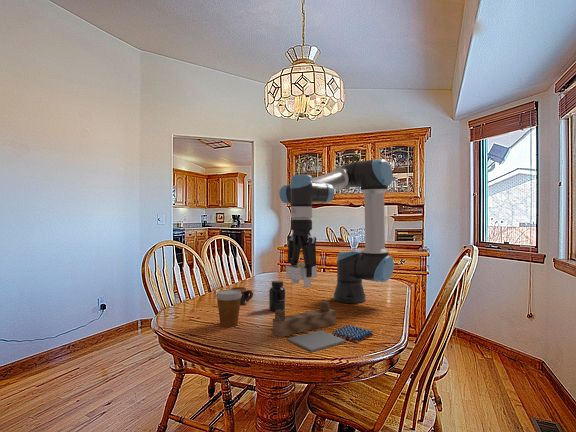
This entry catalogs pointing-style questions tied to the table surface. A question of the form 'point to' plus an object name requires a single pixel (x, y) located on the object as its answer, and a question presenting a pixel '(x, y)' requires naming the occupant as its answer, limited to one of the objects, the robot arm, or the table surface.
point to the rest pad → (316, 340)
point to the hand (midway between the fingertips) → (301, 284)
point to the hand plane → (303, 320)
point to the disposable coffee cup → (228, 307)
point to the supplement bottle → (277, 296)
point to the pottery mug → (244, 294)
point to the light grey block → (298, 271)
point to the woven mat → (353, 333)
